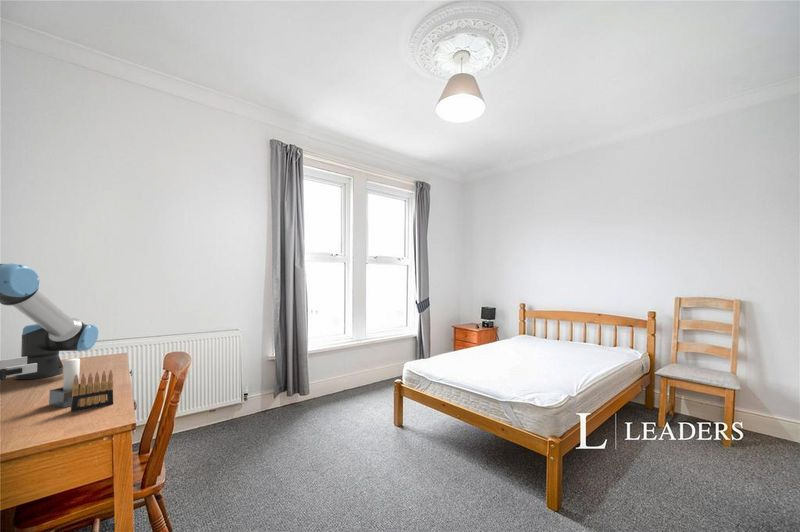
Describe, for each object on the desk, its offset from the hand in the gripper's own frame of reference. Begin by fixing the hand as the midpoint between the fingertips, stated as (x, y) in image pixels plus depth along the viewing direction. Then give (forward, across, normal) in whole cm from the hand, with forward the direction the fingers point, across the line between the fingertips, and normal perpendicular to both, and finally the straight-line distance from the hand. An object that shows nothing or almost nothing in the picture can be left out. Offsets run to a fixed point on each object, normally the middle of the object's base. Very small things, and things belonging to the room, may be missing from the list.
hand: (31, 363), depth 112 cm
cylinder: (+10, 0, -15) cm, 18 cm away
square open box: (+10, 0, -16) cm, 19 cm away
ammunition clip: (+13, +12, -16) cm, 23 cm away
